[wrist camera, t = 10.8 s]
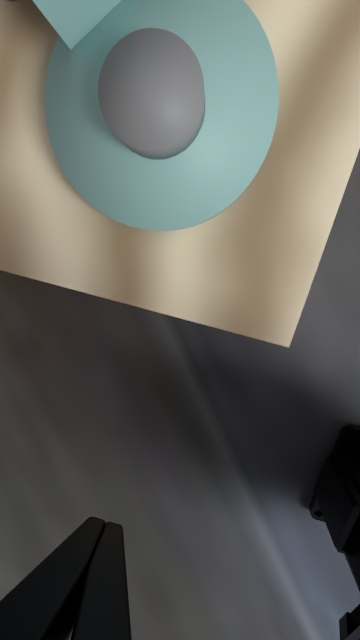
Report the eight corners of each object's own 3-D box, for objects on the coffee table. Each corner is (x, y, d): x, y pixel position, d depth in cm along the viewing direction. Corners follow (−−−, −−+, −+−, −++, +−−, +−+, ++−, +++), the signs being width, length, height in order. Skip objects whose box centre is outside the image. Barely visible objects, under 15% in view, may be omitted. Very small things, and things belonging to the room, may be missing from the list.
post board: (420, -51, 14) (525, -196, 10) (284, 340, 19) (308, 376, 14) (17, -142, 15) (-76, -320, 10) (-20, 259, 20) (-97, 266, 15)
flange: (317, 140, 15) (365, 96, 10) (142, 271, 17) (114, 284, 12) (95, -227, 13) (24, -502, 8) (-74, -24, 15) (-209, -146, 10)
